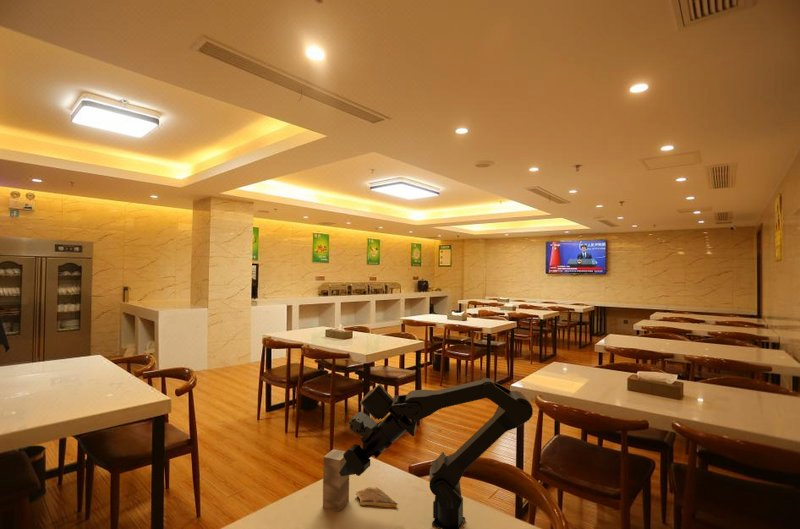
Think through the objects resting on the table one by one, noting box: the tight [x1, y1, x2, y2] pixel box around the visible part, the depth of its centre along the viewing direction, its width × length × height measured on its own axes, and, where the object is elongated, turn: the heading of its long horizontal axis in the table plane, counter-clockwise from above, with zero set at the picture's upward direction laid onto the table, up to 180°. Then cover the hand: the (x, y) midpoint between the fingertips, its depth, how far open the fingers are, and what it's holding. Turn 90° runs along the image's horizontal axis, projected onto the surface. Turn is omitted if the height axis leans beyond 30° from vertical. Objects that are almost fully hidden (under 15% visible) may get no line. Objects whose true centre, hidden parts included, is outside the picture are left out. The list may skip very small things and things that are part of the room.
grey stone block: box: [322, 448, 350, 512], centre depth 104 cm, size 5×5×13 cm
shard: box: [355, 486, 399, 508], centre depth 105 cm, size 11×8×2 cm
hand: (349, 466), depth 103 cm, fingers open, 9 cm apart
